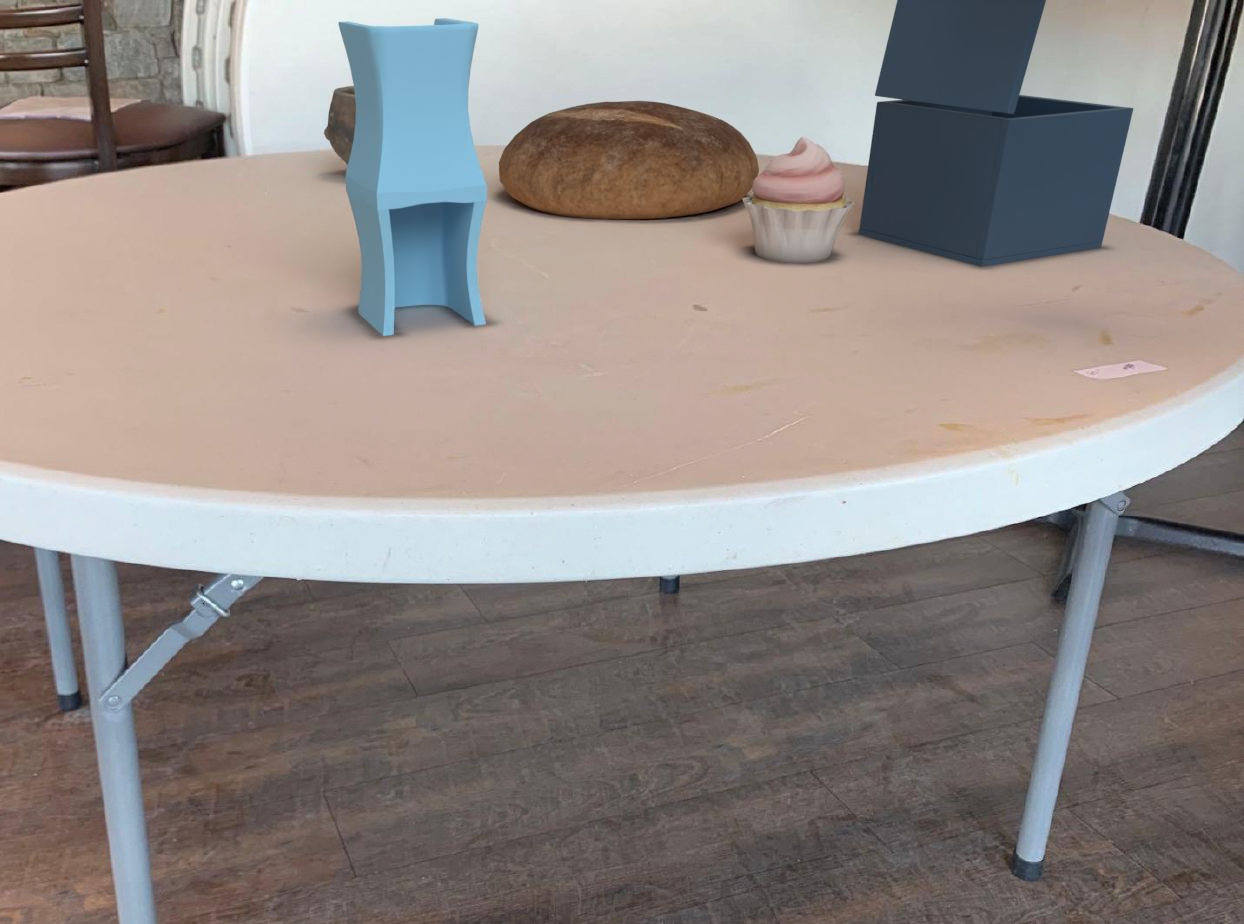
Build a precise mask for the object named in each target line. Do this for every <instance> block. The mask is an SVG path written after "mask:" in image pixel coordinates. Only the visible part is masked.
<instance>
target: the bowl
mask: <svg viewBox="0 0 1244 924" xmlns="http://www.w3.org/2000/svg"><path fill="white" fill-rule="evenodd" d="M355 124H356V101H355V92H354V85H348V86H341V87H337V88H335V89H334V90H333V93H332V97H331V101H330V104H329V109H328V117H327V126H326V127H325V129H324V131H323V135H324V137H325V139H326V140H328V141H329V144H330V146H331V148H332V149H333V151H334V152H335V153H336V155H337V156H338V157H339V158H340V159H341V160H342V162H344V163H345V164H346V165H347V166H348V163H349V159H350V155H351V150H352V145H353V140H354V132H355Z"/></svg>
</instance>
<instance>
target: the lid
mask: <svg viewBox="0 0 1244 924" xmlns="http://www.w3.org/2000/svg"><path fill="white" fill-rule="evenodd" d="M1046 2H1047V0H897V1H896V4H895V8H894V13H893V17H892V21H891V26H890V30H889V33H888V38H887V41H886V47H885V51H884V54H883V58H882V62H881V67H880V70H879V71H880V72H879V75H878V80H877V84H876V88H875V91H874V96H875V97H880V98H887V99H894V100H909V101H917V102H924V103H932V104H939V105H947V106H954V107H962V108H969V109H977V110H984V111H992V112H999V113H1007V114H1014V112H1015V108H1016V105H1017V101H1018V98H1019V95H1021V90H1022V87H1023V84H1024V80H1025V76H1026V72H1027V70H1028V65H1029V62H1030V60H1031V59H1030V58H1031V55H1032V51H1033V48H1034V44H1035V42H1036V38H1037V35H1038V31H1039V28H1040V23H1041V20H1042V17H1043V13H1044V9H1045V7H1046V6H1045V5H1046Z"/></svg>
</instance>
